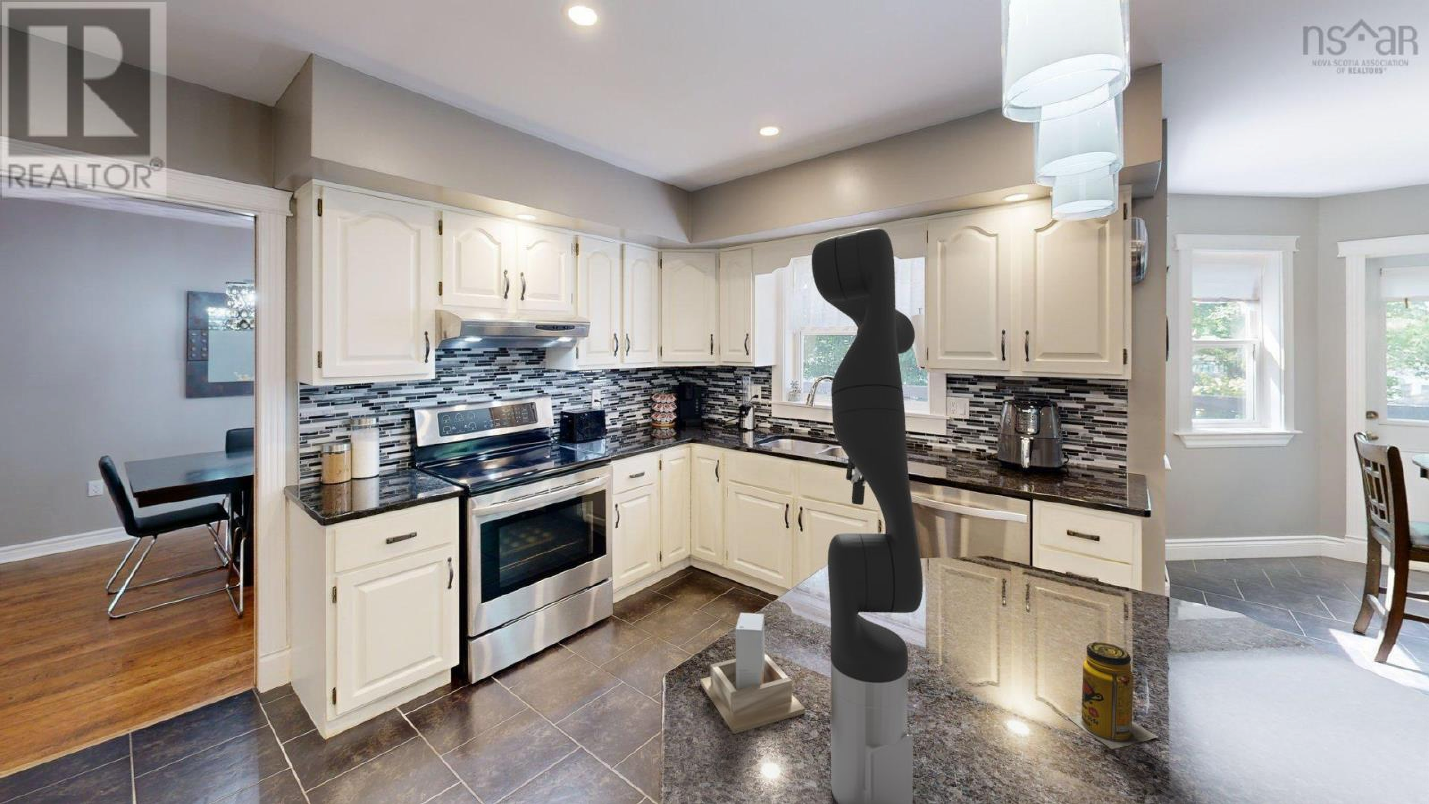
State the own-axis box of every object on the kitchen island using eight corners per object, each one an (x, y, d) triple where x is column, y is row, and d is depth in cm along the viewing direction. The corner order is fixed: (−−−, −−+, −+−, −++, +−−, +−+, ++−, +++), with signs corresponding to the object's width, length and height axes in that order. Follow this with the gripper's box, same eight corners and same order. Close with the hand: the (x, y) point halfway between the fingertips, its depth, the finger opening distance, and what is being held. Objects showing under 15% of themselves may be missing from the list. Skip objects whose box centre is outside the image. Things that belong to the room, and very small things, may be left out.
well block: (804, 713, 87) (804, 686, 87) (733, 734, 83) (733, 706, 82) (763, 667, 100) (763, 644, 100) (700, 683, 96) (699, 659, 95)
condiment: (1066, 718, 85) (1068, 641, 84) (1111, 708, 87) (1114, 633, 86) (1111, 750, 78) (1114, 667, 77) (1159, 739, 80) (1162, 658, 79)
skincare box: (762, 704, 88) (761, 631, 87) (735, 702, 89) (734, 629, 88) (765, 682, 94) (764, 613, 93) (740, 680, 95) (739, 611, 94)
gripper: (840, 419, 112) (832, 501, 110) (886, 414, 99) (878, 508, 96) (871, 424, 114) (864, 505, 112) (920, 420, 101) (914, 512, 99)
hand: (871, 506), depth 104 cm, fingers open, 8 cm apart
